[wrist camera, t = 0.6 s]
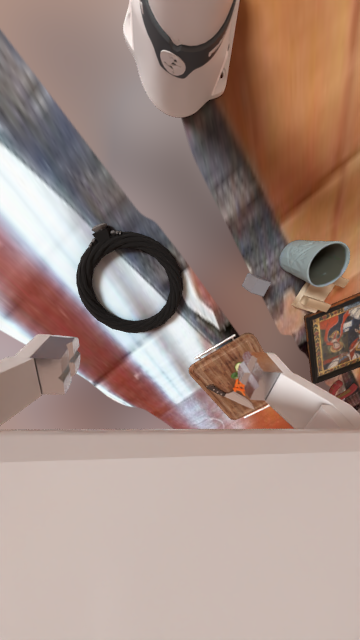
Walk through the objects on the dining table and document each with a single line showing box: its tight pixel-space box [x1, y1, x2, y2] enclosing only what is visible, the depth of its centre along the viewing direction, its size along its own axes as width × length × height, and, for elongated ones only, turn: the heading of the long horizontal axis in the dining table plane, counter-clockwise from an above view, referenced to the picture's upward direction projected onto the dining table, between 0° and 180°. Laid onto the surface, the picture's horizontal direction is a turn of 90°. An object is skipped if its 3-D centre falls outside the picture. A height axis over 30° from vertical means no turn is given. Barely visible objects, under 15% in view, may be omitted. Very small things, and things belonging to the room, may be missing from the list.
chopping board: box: [189, 333, 270, 420], centre depth 74 cm, size 45×27×3 cm, turn 34°
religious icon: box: [304, 293, 360, 384], centre depth 69 cm, size 38×35×3 cm
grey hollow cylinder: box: [280, 240, 350, 287], centre depth 48 cm, size 10×10×12 cm
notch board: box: [292, 277, 349, 313], centre depth 56 cm, size 14×8×5 cm, turn 162°
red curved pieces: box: [328, 380, 357, 400], centre depth 85 cm, size 12×20×3 cm, turn 160°
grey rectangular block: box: [242, 273, 271, 296], centre depth 52 cm, size 4×4×6 cm
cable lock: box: [76, 223, 183, 333], centre depth 50 cm, size 28×4×30 cm
